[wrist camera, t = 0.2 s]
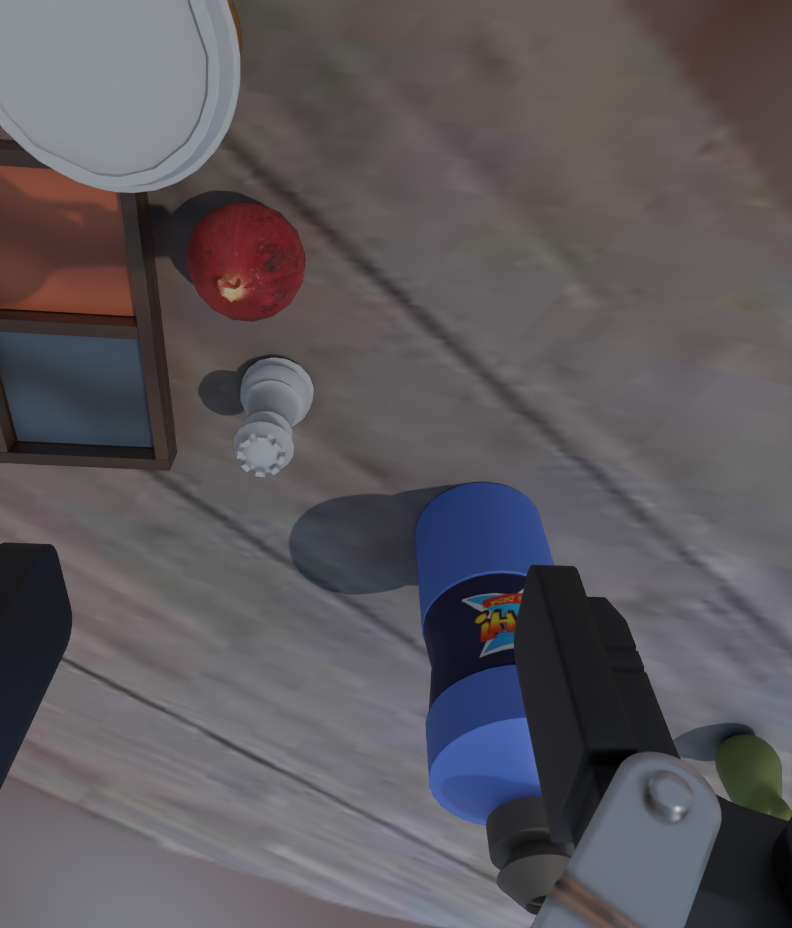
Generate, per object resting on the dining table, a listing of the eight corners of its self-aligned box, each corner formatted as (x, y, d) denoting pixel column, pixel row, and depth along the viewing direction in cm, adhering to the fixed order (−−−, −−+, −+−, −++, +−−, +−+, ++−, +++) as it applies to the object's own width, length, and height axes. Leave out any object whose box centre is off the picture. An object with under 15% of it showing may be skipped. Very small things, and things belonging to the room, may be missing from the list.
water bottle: (432, 469, 48) (474, 836, 28) (562, 493, 50) (694, 860, 29) (399, 570, 53) (413, 945, 33) (518, 590, 55) (604, 961, 34)
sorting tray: (-72, 134, 36) (-94, 142, 35) (142, 149, 37) (130, 157, 35) (11, 445, 47) (-3, 463, 45) (177, 453, 47) (169, 470, 46)
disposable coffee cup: (26, 1, 33) (-124, 10, 23) (178, -149, 30) (81, -212, 21) (172, 179, 38) (98, 250, 28) (316, 63, 35) (291, 96, 25)
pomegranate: (287, 171, 38) (268, 212, 31) (324, 274, 41) (314, 331, 34) (185, 204, 39) (146, 251, 32) (229, 302, 42) (201, 364, 35)
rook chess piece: (327, 401, 45) (318, 473, 39) (265, 427, 46) (247, 502, 40) (292, 342, 43) (276, 408, 36) (228, 371, 44) (201, 440, 37)
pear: (699, 733, 65) (746, 843, 57) (757, 714, 64) (814, 824, 56) (715, 765, 68) (762, 874, 60) (772, 747, 67) (828, 856, 58)
